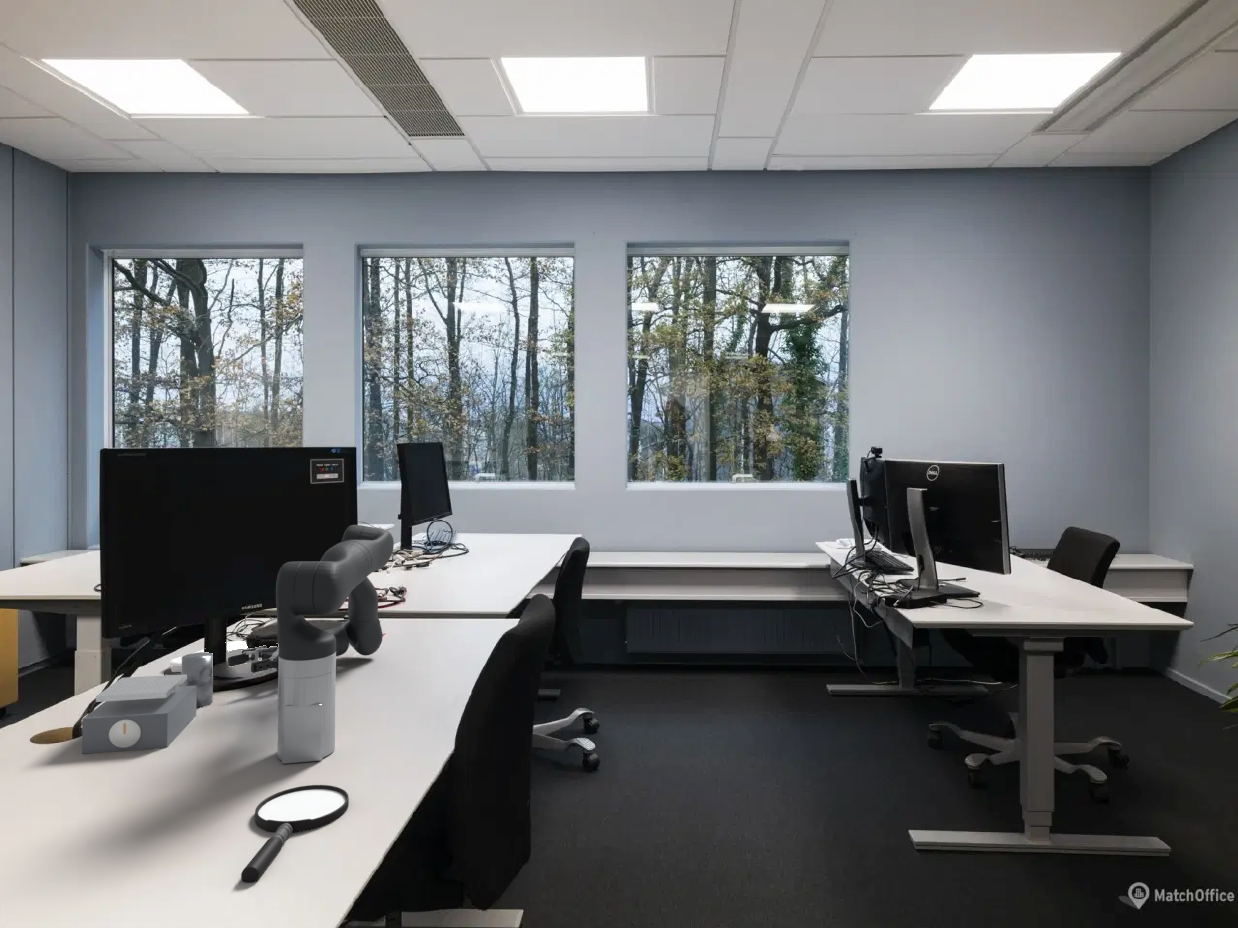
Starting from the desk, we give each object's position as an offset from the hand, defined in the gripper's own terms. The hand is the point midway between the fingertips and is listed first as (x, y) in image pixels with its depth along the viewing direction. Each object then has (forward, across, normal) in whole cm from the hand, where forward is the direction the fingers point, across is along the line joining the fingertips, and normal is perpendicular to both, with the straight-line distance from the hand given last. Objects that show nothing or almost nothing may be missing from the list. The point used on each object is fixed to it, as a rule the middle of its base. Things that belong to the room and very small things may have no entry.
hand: (239, 665), depth 157 cm
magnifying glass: (+31, +61, +7) cm, 69 cm away
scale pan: (+23, +8, -2) cm, 25 cm away
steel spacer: (+9, 0, +6) cm, 11 cm away
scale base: (+23, +8, +6) cm, 25 cm away
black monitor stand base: (-13, -22, +6) cm, 26 cm away
